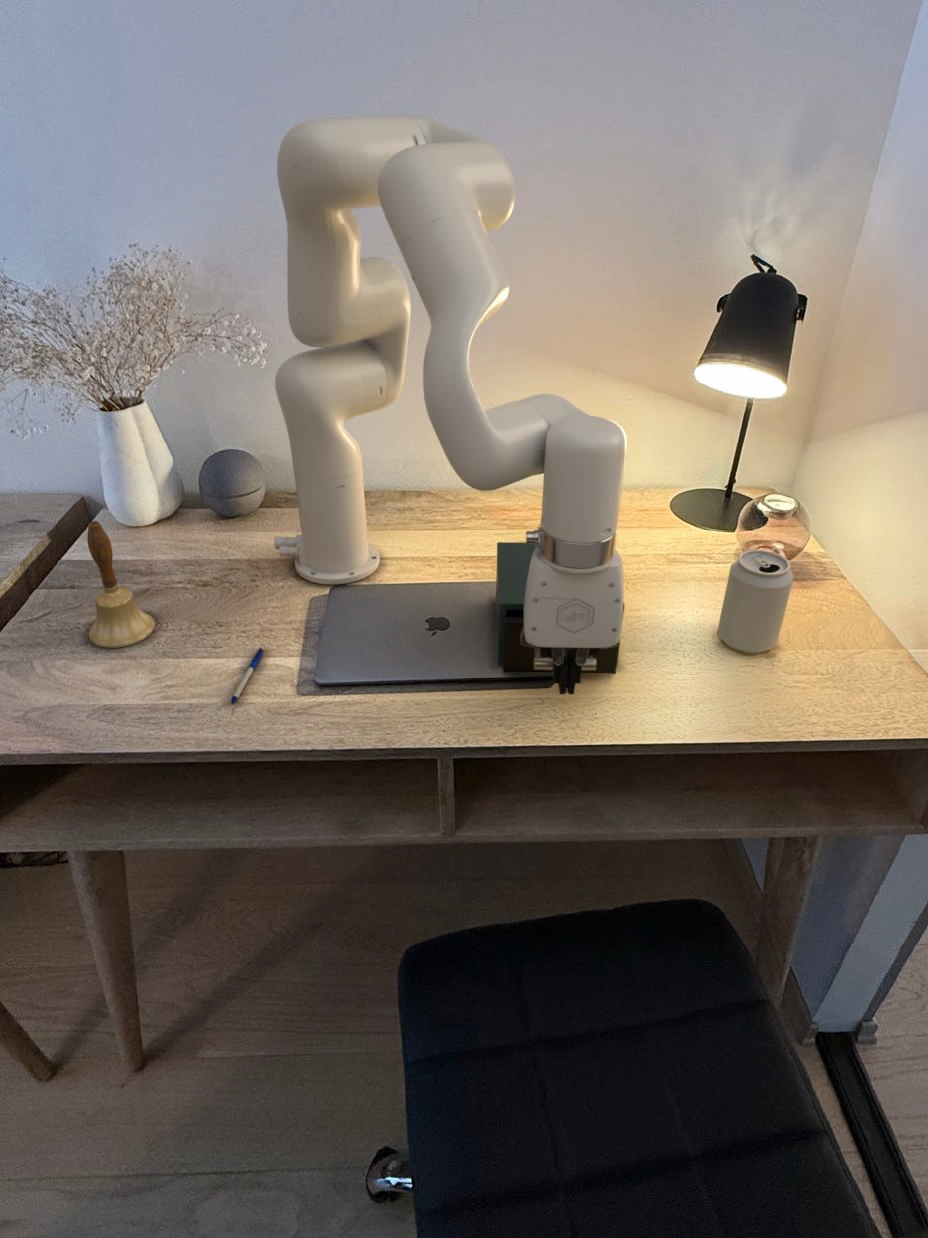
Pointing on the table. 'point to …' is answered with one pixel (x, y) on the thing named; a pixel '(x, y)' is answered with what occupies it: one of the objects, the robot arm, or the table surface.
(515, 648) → the open black drawer
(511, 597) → the drawer cabinet
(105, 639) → the hand bell
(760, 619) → the can
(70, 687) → the table surface
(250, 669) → the ballpoint pen
